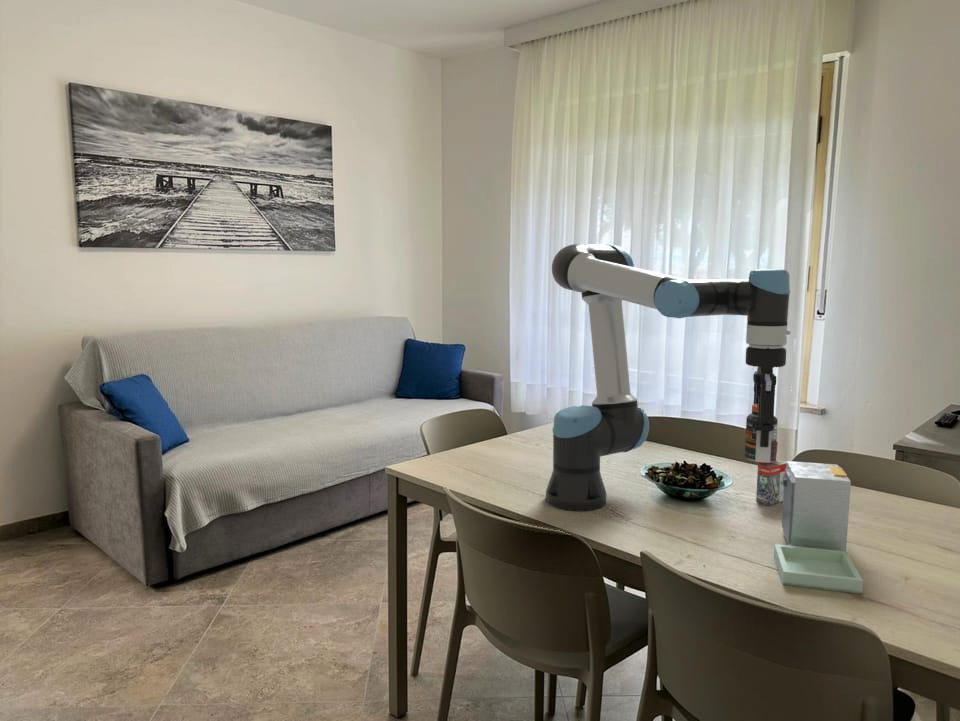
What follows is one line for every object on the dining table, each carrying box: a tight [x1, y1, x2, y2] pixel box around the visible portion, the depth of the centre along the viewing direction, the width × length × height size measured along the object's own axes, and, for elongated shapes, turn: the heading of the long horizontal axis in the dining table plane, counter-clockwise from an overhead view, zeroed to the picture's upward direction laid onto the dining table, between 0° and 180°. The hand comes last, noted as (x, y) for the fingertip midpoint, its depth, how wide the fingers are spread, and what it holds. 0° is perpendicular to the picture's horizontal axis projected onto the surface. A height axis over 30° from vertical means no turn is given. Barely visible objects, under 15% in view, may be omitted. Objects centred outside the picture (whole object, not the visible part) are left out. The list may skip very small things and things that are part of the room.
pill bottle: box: [744, 403, 778, 462], centre depth 136 cm, size 6×6×11 cm
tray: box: [773, 543, 864, 595], centre depth 126 cm, size 13×13×2 cm
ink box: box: [755, 441, 787, 507], centre depth 165 cm, size 4×8×15 cm, turn 123°
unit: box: [781, 460, 852, 552], centre depth 139 cm, size 11×12×16 cm
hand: (760, 457), depth 137 cm, fingers closed on pill bottle, 6 cm apart
